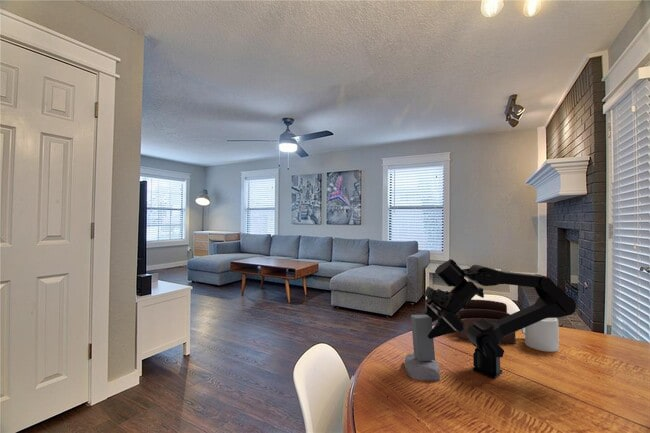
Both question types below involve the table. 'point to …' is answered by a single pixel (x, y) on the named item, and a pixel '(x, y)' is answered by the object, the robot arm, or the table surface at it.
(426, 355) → the pillar
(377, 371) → the table surface
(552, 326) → the mug
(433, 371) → the stone block
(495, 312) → the letter holder
